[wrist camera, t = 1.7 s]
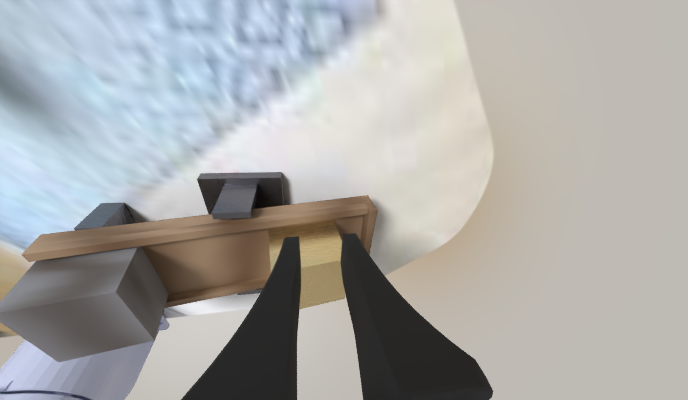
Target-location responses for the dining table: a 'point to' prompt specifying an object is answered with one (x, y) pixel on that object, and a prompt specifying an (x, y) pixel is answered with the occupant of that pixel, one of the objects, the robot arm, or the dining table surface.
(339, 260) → the block
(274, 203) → the beam stand
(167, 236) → the balance beam
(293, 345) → the robot arm
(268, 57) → the dining table surface
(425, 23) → the dining table surface
